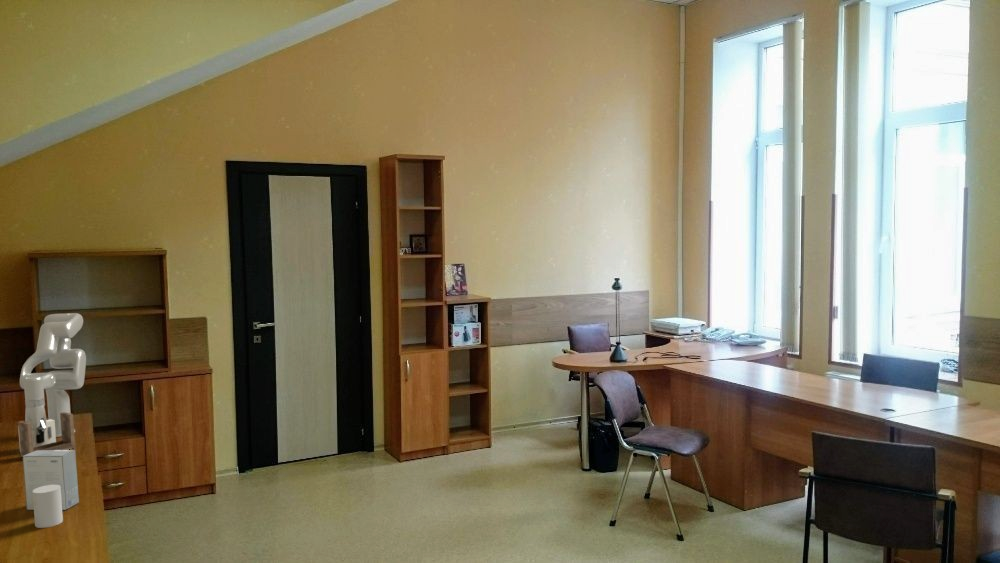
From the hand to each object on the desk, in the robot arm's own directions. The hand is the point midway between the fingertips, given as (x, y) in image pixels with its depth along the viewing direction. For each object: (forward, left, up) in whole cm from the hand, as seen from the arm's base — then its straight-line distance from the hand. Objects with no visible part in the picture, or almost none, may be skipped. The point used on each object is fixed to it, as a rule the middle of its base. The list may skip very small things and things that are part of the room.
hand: (37, 441), depth 343 cm
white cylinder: (+98, -45, -4) cm, 108 cm away
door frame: (+11, -1, -3) cm, 12 cm away
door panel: (0, 0, -3) cm, 3 cm away
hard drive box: (+83, -36, -4) cm, 91 cm away
